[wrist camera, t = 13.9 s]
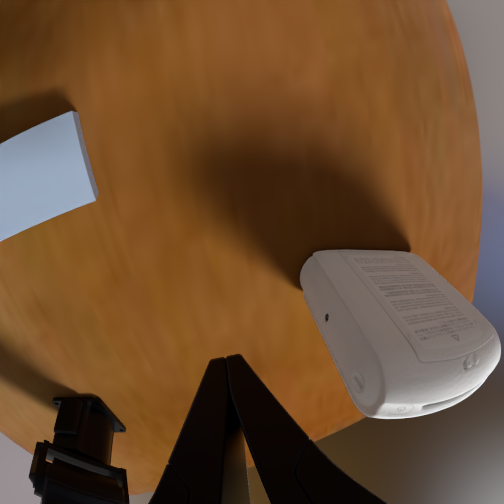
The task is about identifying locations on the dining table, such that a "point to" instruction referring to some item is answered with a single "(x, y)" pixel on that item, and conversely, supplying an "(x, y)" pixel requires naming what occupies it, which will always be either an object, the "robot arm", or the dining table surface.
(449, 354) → the photo printer
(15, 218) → the blue domino
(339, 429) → the dining table surface
